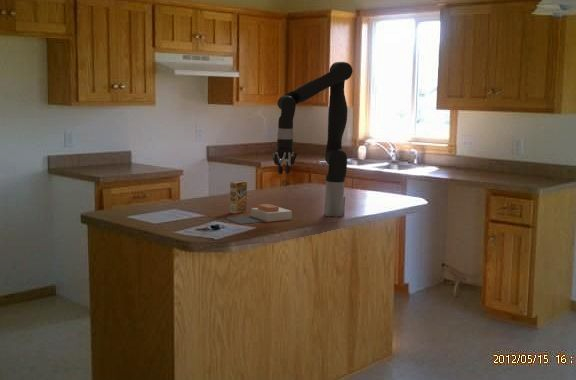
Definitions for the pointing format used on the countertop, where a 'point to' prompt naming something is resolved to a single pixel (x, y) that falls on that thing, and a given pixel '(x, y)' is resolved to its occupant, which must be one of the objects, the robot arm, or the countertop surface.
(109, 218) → the countertop surface
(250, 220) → the mat
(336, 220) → the countertop surface
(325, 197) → the robot arm
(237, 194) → the candy box
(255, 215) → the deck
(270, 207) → the block
